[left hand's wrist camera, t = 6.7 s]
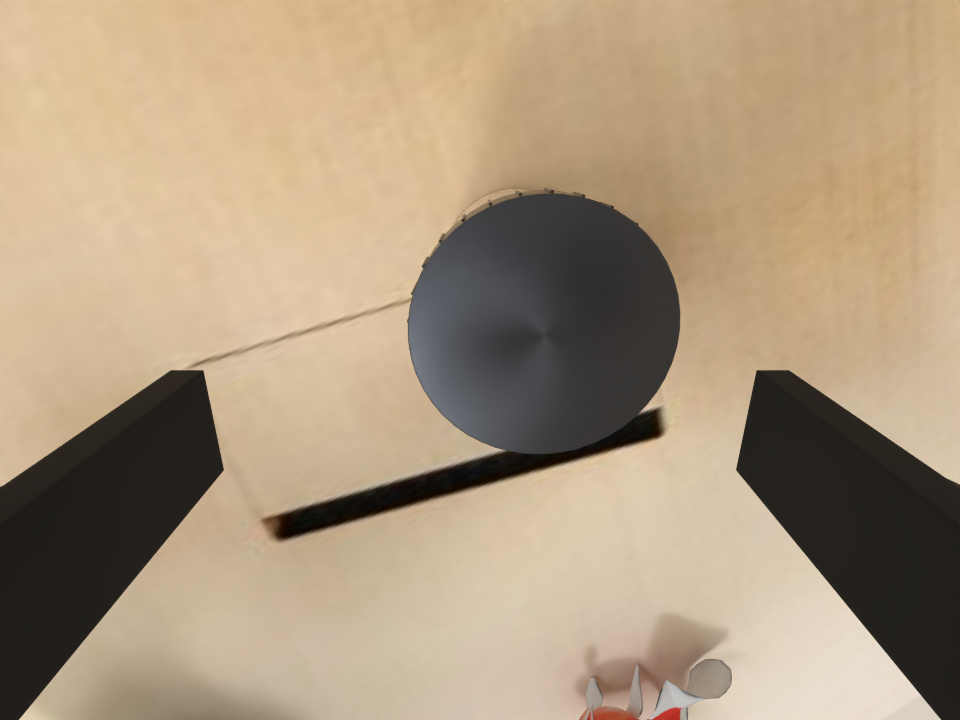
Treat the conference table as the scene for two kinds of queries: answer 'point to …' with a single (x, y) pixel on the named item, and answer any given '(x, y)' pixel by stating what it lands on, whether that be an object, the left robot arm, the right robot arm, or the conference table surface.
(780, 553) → the conference table surface
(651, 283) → the lid
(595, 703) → the fish
